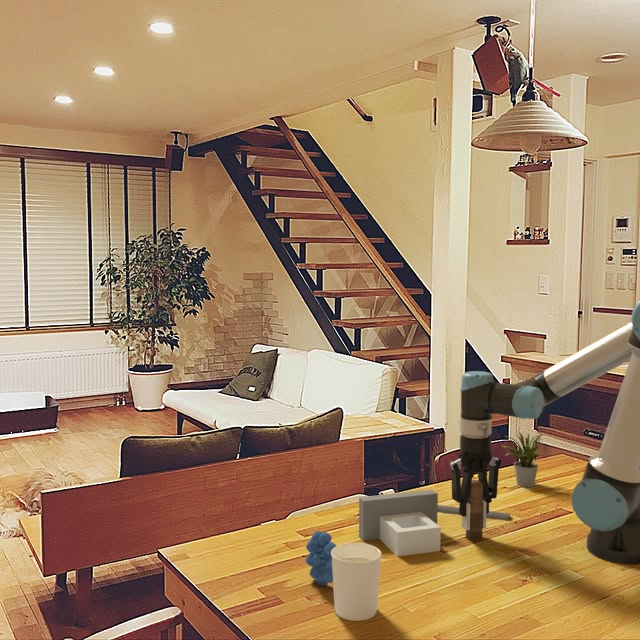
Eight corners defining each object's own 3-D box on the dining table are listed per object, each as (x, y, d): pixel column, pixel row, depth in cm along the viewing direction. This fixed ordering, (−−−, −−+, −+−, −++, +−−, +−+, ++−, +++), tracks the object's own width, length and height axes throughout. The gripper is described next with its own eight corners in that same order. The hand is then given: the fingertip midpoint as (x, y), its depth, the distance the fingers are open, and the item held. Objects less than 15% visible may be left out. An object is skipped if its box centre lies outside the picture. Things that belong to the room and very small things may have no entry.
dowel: (485, 539, 183) (486, 484, 182) (470, 541, 182) (471, 485, 180) (477, 533, 187) (478, 479, 185) (462, 535, 185) (464, 480, 184)
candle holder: (377, 599, 151) (378, 542, 150) (383, 623, 142) (384, 562, 140) (329, 599, 151) (329, 542, 150) (332, 623, 141) (332, 563, 140)
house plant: (521, 473, 237) (522, 423, 236) (559, 484, 227) (561, 431, 225) (493, 482, 228) (494, 430, 227) (531, 493, 218) (533, 439, 216)
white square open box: (440, 551, 176) (440, 527, 175) (397, 557, 173) (397, 532, 172) (420, 534, 186) (420, 511, 186) (379, 539, 183) (379, 516, 183)
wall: (437, 531, 188) (437, 493, 187) (363, 540, 182) (363, 501, 181) (431, 527, 191) (432, 489, 190) (358, 536, 185) (359, 497, 184)
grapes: (354, 591, 155) (354, 535, 154) (325, 598, 151) (326, 542, 150) (325, 570, 165) (326, 518, 164) (299, 577, 161) (299, 523, 160)
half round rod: (508, 523, 195) (508, 516, 195) (435, 514, 202) (435, 507, 202) (510, 517, 199) (510, 511, 199) (438, 509, 206) (438, 502, 206)
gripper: (452, 441, 176) (450, 536, 178) (514, 435, 181) (511, 529, 183) (437, 433, 183) (436, 525, 185) (498, 428, 188) (495, 518, 190)
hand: (473, 527), depth 184 cm, fingers closed on dowel, 4 cm apart
